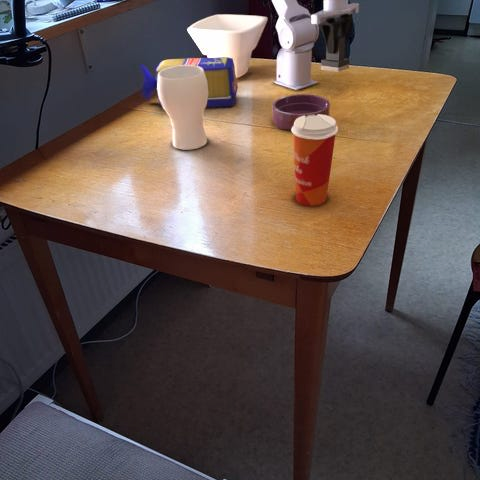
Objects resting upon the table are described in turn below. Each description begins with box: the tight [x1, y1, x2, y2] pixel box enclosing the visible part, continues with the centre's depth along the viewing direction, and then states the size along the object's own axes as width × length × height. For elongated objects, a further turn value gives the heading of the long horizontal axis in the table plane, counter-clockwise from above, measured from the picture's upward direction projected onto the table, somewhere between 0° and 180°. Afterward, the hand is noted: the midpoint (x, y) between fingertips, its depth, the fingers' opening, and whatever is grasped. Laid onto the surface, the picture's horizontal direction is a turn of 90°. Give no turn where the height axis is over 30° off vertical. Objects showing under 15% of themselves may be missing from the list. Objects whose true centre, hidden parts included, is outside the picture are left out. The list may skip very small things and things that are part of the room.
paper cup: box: [290, 114, 339, 207], centre depth 84 cm, size 8×8×14 cm
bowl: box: [187, 13, 269, 79], centre depth 138 cm, size 19×19×14 cm
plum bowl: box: [271, 93, 331, 132], centre depth 114 cm, size 13×13×4 cm
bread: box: [139, 57, 239, 110], centre depth 125 cm, size 10×25×10 cm, turn 85°
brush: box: [320, 36, 350, 73], centre depth 121 cm, size 6×4×7 cm, turn 39°
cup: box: [156, 65, 208, 151], centre depth 104 cm, size 11×11×15 cm
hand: (334, 52), depth 121 cm, fingers closed on brush, 2 cm apart
